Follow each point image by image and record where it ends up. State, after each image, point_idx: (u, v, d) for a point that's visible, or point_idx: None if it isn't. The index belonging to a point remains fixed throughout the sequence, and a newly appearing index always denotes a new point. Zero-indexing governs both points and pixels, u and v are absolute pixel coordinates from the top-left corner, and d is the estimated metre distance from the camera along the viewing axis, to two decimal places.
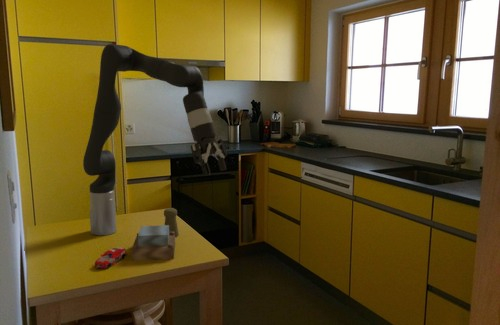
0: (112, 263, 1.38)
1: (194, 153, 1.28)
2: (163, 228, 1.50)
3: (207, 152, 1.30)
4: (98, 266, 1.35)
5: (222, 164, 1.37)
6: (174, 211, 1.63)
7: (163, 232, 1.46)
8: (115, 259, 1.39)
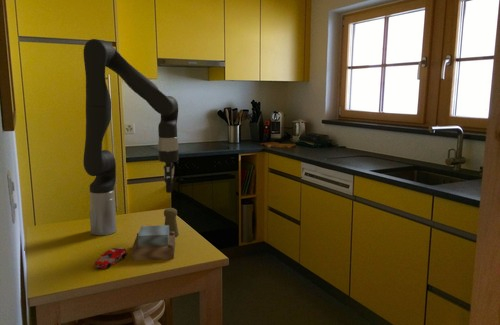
0: (112, 263, 1.38)
1: (167, 174, 1.54)
2: (163, 228, 1.50)
3: None
4: (98, 266, 1.35)
5: None
6: (174, 211, 1.63)
7: (163, 232, 1.46)
8: (115, 259, 1.39)
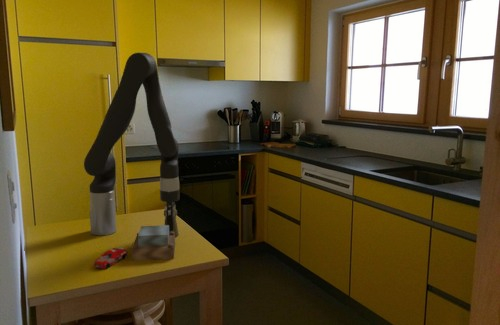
0: (111, 263, 1.37)
1: (168, 217, 1.58)
2: (163, 228, 1.50)
3: None
4: (97, 266, 1.35)
5: None
6: None
7: (163, 232, 1.46)
8: (114, 259, 1.39)
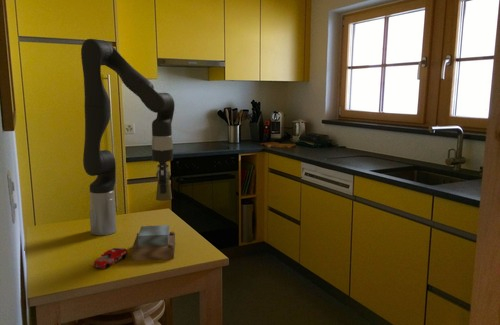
0: (111, 263, 1.37)
1: (161, 177, 1.49)
2: (163, 228, 1.50)
3: (167, 175, 1.53)
4: (96, 266, 1.35)
5: None
6: None
7: (163, 232, 1.46)
8: (114, 259, 1.39)
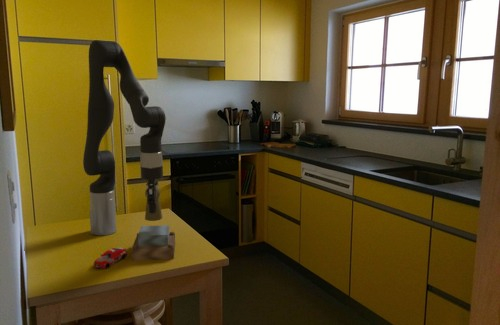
0: (111, 263, 1.37)
1: (150, 197, 1.40)
2: (163, 228, 1.50)
3: (156, 194, 1.44)
4: (96, 266, 1.35)
5: None
6: (157, 191, 1.44)
7: (163, 232, 1.46)
8: (114, 259, 1.39)
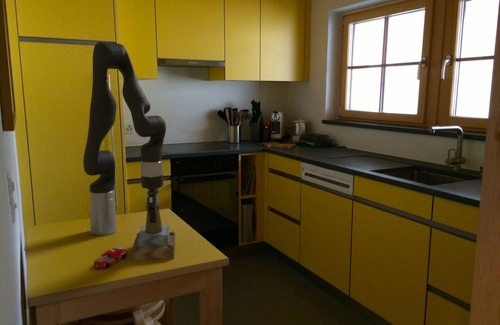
0: (111, 263, 1.37)
1: (150, 205, 1.40)
2: (163, 228, 1.50)
3: (157, 202, 1.44)
4: (96, 266, 1.35)
5: None
6: None
7: (163, 232, 1.46)
8: (114, 259, 1.39)
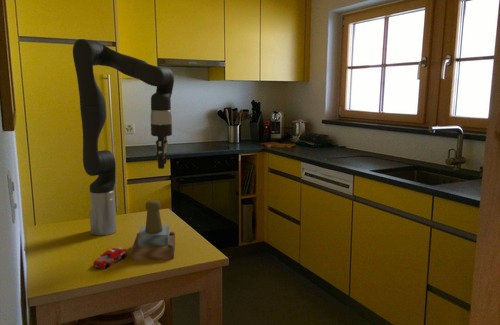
0: (111, 263, 1.37)
1: (159, 149, 1.46)
2: (163, 228, 1.50)
3: (165, 149, 1.50)
4: (96, 266, 1.35)
5: (164, 158, 1.58)
6: (157, 203, 1.45)
7: (163, 232, 1.46)
8: (114, 259, 1.39)
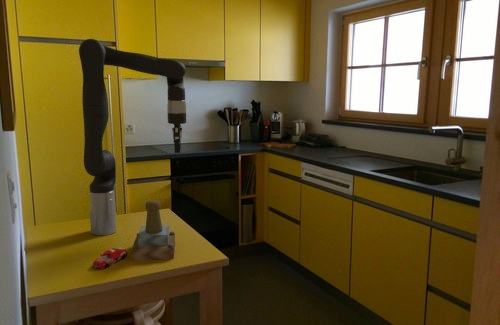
0: (110, 263, 1.37)
1: (175, 134, 1.64)
2: (163, 228, 1.50)
3: (181, 135, 1.68)
4: (96, 266, 1.35)
5: None
6: (157, 203, 1.45)
7: (163, 232, 1.46)
8: (113, 259, 1.39)
